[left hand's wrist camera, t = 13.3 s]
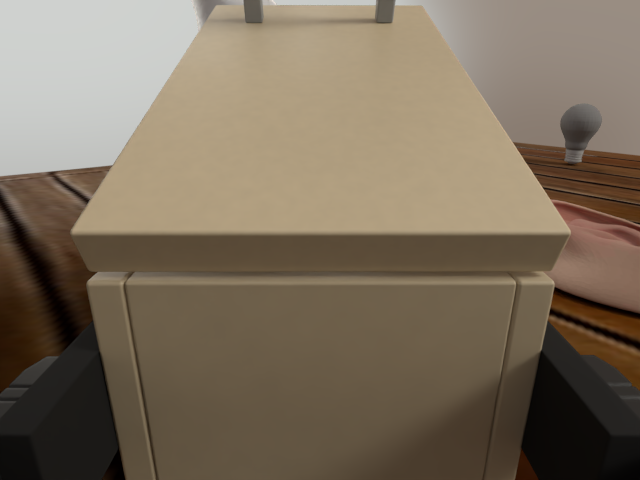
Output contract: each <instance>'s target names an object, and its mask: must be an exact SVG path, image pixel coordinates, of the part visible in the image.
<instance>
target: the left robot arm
mask: <svg viewBox="0 0 640 480" xmlns="http://www.w3.org/2000/svg"><path fill="white" fill-rule="evenodd" d="M118 448H119V445H118V440H117V435H116V430H115V425H114V420H113V415H112V410H111V405H110V400H109V396H108V391H107V386H106V381H105V376H104V371H103V366H102V361H101V356H100V351H99V346H98V341H97V336H96V331H95V326H94V321H92V322H91V323H90V324H89V325H88V326H87V327H86V328H85V329H84V330H83V331H82V333H81V334H80V335H79V336H78V337H77V338H76V339H75V340H74V341H73V342H72V343H71V344H70V345H69V346H68V347H67V348H66V349H65V350H64V352H63V353H62V354H61V355H60V356H59V357H45V358H44V359H42V360H40V361H39V362H37V363H35V364H34V365H32V366H30V367H29V368H27V369H25V370H24V371H23V372H22V373H21V374H20V375H19V376H18V377H17V378H16V379H15V380H14V381H13V382H12V383H11V384H10V385H9V388H6V389H5V390H4V391H3V392H2V393H1V394H0V480H101V479H102V478H103V476H104V474H105V472H106V470H107V469H108V467H109V465H110V463H111V461H112V459H113V458H114V456H115V454H116V452H117V450H118ZM521 448H522V450H523V451H524V453H525V455H526V457H527V459H528V460H529V462H530V464H531V466H532V468H533V470H534V471H535V473H536V475H537V477H538V479H539V480H640V391H639V390H638V389H637V388H636V387H632V383H631V382H629V381H628V380H627V379H626V378H625V377H624V376H623V375H622V374H621V373H620V372H619V371H618V370H617V369H616V368H615V367H613V366H611V365H610V364H608V363H606V362H605V361H603V360H601V359H600V358H598V357H596V356H594V355H580V354H579V353H578V352H577V351H576V350H575V349H574V348H573V347H572V346H571V345H570V344H569V343H568V342H567V341H566V339H565V338H564V337H563V336H562V335H561V334H560V333H559V332H558V331H557V330H556V329H555V328H554V327H553V326H552V325H551V324H550V323H549V322H548V321H547V325H546V330H545V335H544V340H543V345H542V350H541V354H540V358H539V363H538V368H537V373H536V378H535V383H534V388H533V393H532V398H531V402H530V407H529V412H528V417H527V422H526V427H525V432H524V437H523V441H522V446H521Z"/></svg>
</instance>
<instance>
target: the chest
mask: <svg viewBox="0 0 640 480" xmlns="http://www.w3.org/2000/svg"><path fill="white" fill-rule="evenodd" d="M86 287H87V292H88V297H89V302H90V306H91V311H92V316H93V321H94V326H95V331H96V336H97V341H98V346H99V351H100V356H101V361H102V366H103V371H104V376H105V381H106V386H107V391H108V396H109V400H110V405H111V410H112V415H113V420H114V425H115V430H116V435H117V440H118V445H119V450H120V455H121V460H122V465H123V470H124V475H125V480H515V476H516V471H517V466H518V461H519V456H520V452H521V446H522V441H523V437H524V432H525V427H526V422H527V417H528V412H529V407H530V402H531V398H532V393H533V388H534V383H535V378H536V373H537V368H538V363H539V358H540V354H541V350H542V345H543V340H544V335H545V330H546V325H547V321H548V316H549V311H550V306H551V301H552V296H553V291H554V287H555V284H554V281H553V280H552V279H551V278H550V277H548V276H547V275H546V274H545V273H544V272H98V273H96V274H95V275H94V276H93V277H92V278H91V279H90V280H88V281H87V285H86Z"/></svg>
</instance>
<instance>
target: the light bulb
mask: <svg viewBox="0 0 640 480" xmlns="http://www.w3.org/2000/svg"><path fill="white" fill-rule="evenodd" d="M601 122H602V118H601V114H600V112H599V111H598V109H597V108H596V107H594V106H592V105H589V104H578V105H575V106H573V107H571V108H570V109H568V110H567V111H566V112H565V113H564V115H563V116H562V118H561V130H562V133H563V135H564V138H565V147H566V156H565V157H566V158H565V159H564V160H565V161H566V162H568V163H570V164H577V163H579V162H581V161H582V160H581V159H582V158H581V157H582V154H583V152H584V150H585V148H586V147H587V144H588V142H589V140H590V139H591V138H592V137H593V136H594V134H595V133H596V132H597V131H598V129H599V128H600V125H601Z"/></svg>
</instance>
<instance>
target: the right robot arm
mask: <svg viewBox="0 0 640 480" xmlns="http://www.w3.org/2000/svg"><path fill="white" fill-rule="evenodd" d="M191 1H192V3H193V7H194V10H195V14H196V18H197V24H198V31H200V29H201V28H202V26H203V25H204V23H205V21H206V20H207V18H208V17H209V15H210V14H211V12H212V11H213V9H214V8H215V6H216V5H244V3H243V0H191ZM262 1H263V5H277V4H276V3H275V2H274V1H273V0H262Z"/></svg>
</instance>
